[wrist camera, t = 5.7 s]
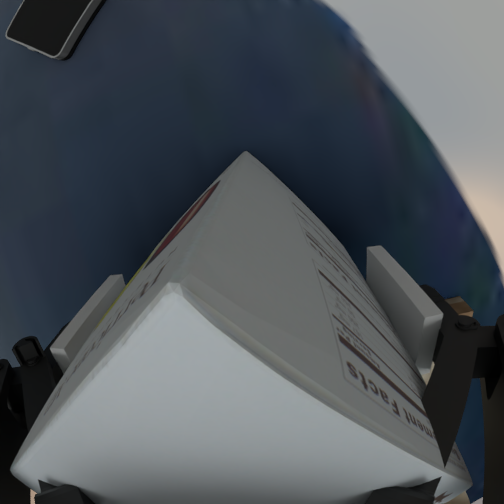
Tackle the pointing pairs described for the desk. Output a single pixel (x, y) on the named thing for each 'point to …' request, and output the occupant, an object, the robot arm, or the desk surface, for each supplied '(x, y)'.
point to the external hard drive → (52, 25)
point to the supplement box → (241, 372)
